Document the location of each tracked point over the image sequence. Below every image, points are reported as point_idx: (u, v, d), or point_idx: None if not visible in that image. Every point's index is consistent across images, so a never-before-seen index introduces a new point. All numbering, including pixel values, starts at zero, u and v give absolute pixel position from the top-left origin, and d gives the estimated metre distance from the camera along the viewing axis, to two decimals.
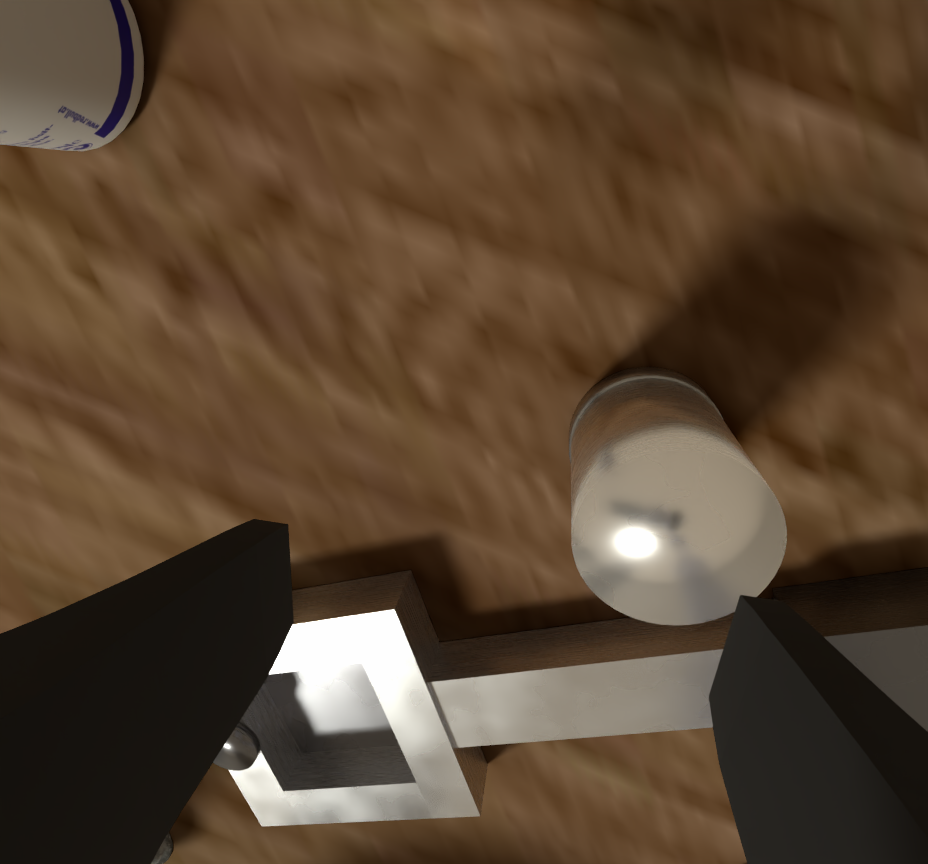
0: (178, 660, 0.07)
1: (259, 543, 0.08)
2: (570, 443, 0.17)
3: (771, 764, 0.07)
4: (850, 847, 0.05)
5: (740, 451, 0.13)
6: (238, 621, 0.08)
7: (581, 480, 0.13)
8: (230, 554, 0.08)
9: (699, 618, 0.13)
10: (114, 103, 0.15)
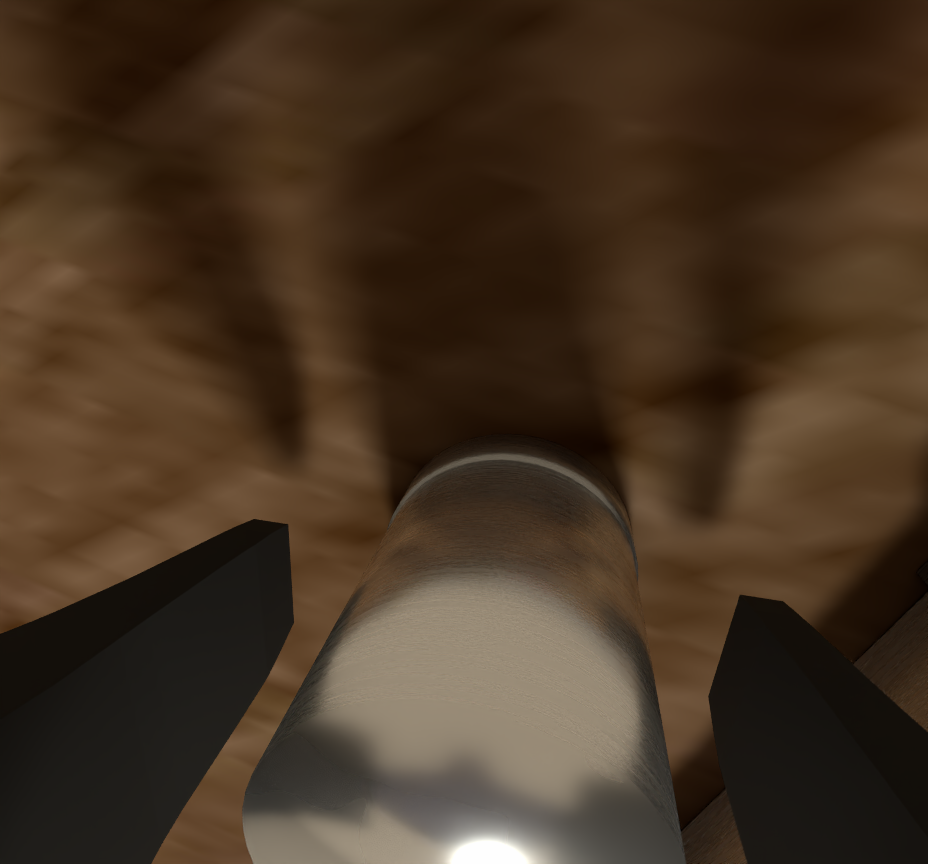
0: (178, 660, 0.07)
1: (259, 543, 0.08)
2: None
3: (771, 764, 0.07)
4: (850, 847, 0.05)
5: (431, 615, 0.06)
6: (238, 621, 0.08)
7: None
8: (230, 554, 0.08)
9: None
10: None
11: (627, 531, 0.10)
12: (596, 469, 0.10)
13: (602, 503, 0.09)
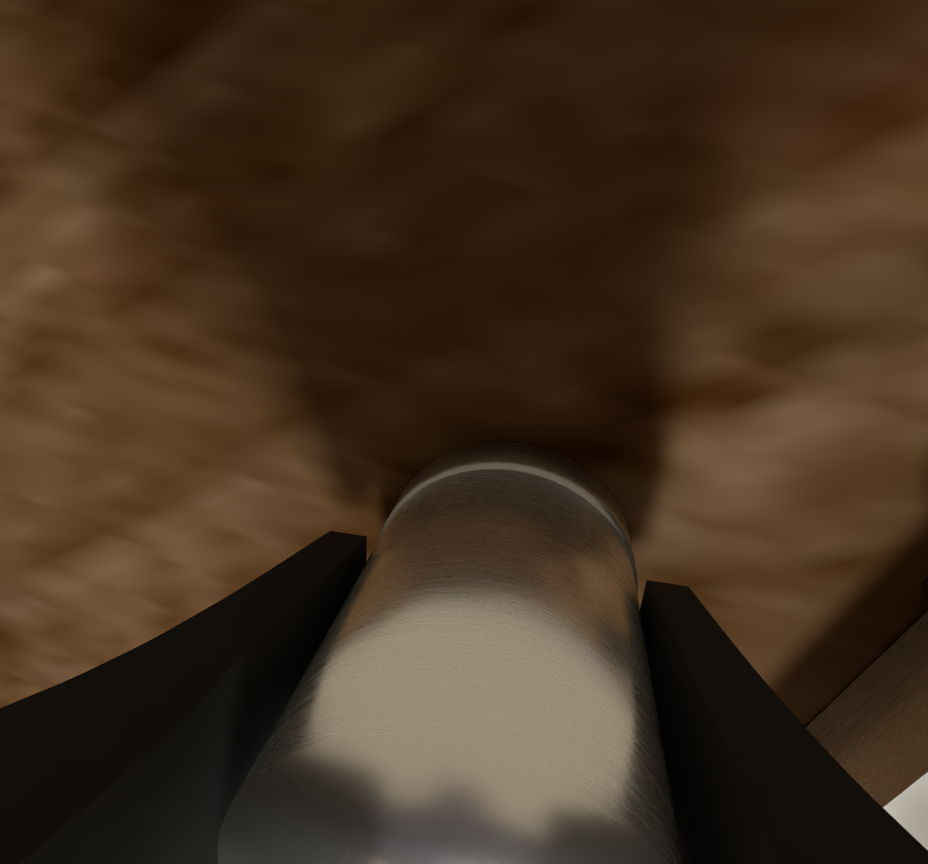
0: (280, 680, 0.07)
1: (345, 557, 0.08)
2: None
3: None
4: (703, 817, 0.06)
5: (419, 639, 0.06)
6: None
7: None
8: (321, 569, 0.08)
9: None
10: None
11: (626, 543, 0.09)
12: (594, 478, 0.10)
13: (600, 514, 0.09)
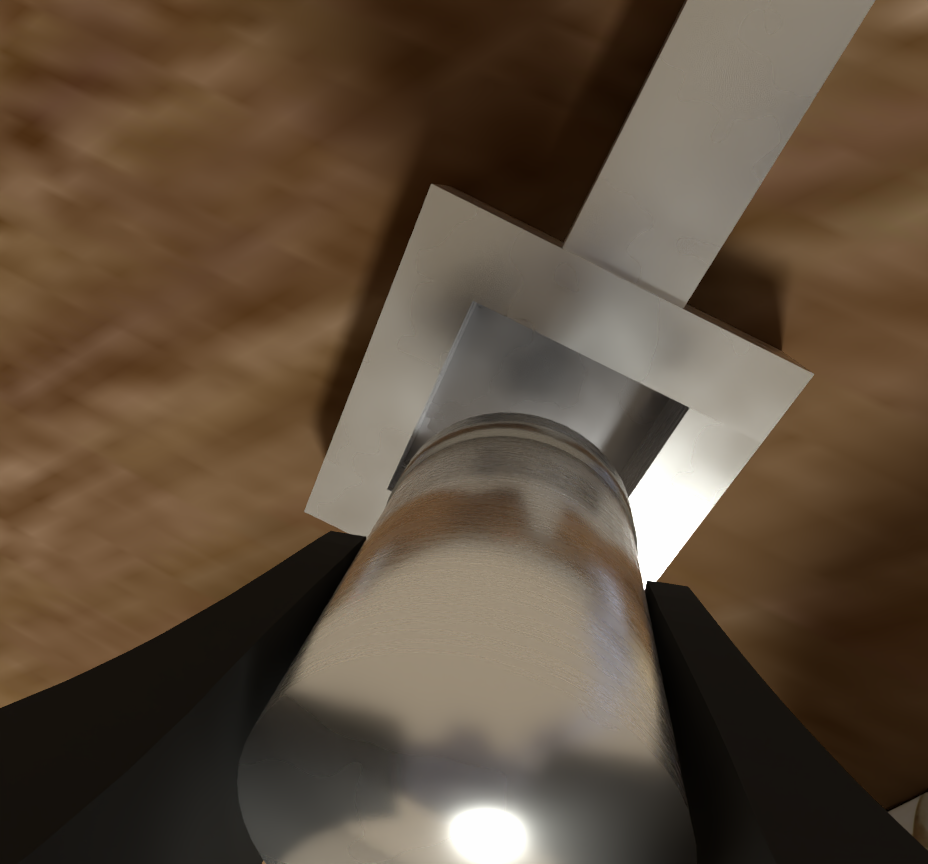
0: (280, 680, 0.07)
1: (345, 557, 0.08)
2: None
3: None
4: (703, 817, 0.06)
5: (422, 577, 0.06)
6: None
7: None
8: (321, 569, 0.08)
9: None
10: None
11: (625, 503, 0.09)
12: (592, 444, 0.10)
13: (598, 475, 0.09)
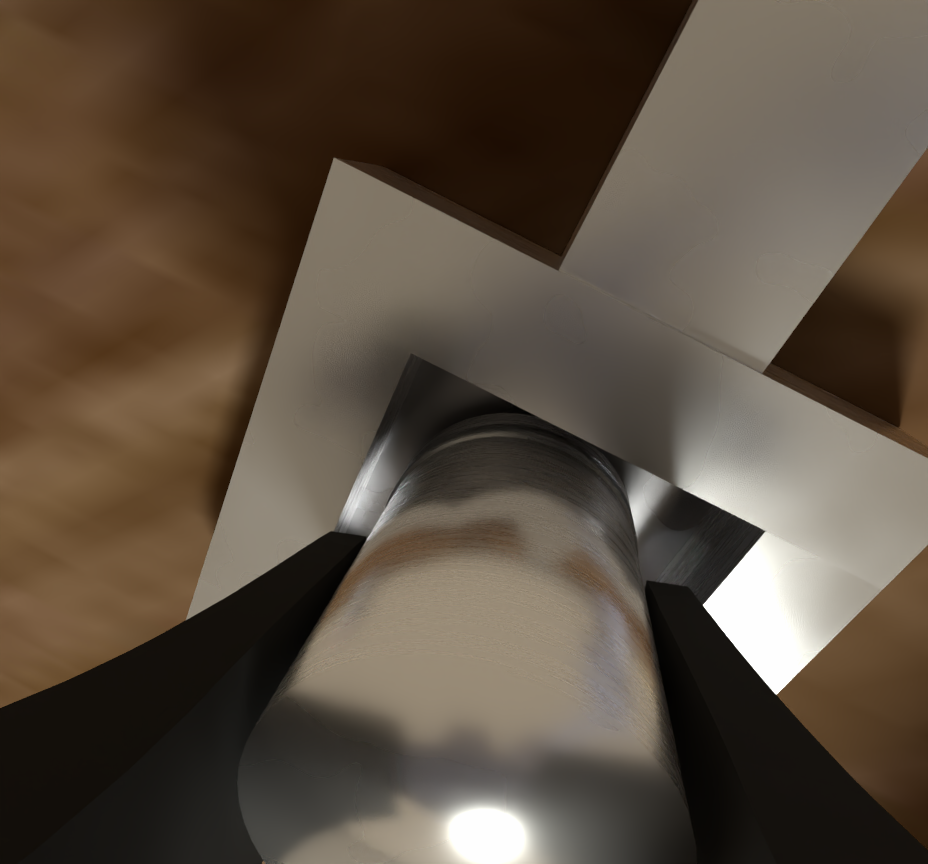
0: (280, 680, 0.07)
1: (345, 557, 0.08)
2: None
3: None
4: (704, 817, 0.06)
5: (423, 578, 0.06)
6: None
7: None
8: (321, 569, 0.08)
9: None
10: None
11: (625, 504, 0.09)
12: (592, 445, 0.10)
13: (598, 476, 0.09)
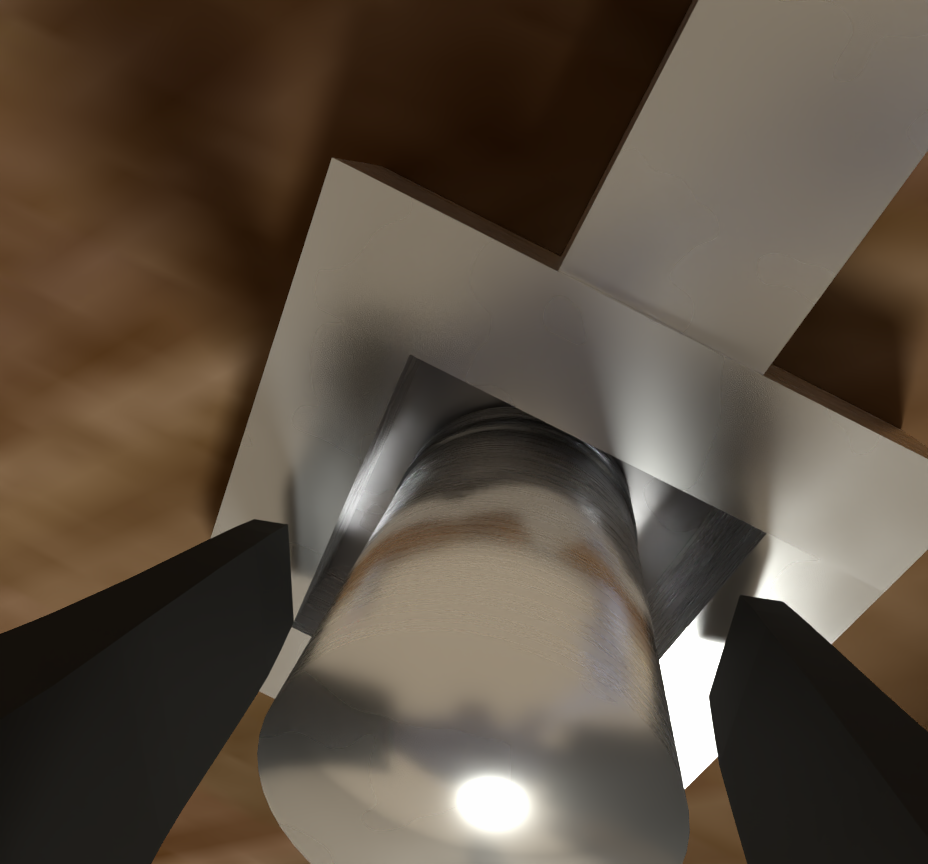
0: (178, 660, 0.07)
1: (259, 543, 0.08)
2: None
3: (772, 764, 0.07)
4: (850, 847, 0.05)
5: (431, 562, 0.06)
6: (238, 621, 0.08)
7: None
8: (230, 554, 0.08)
9: None
10: None
11: (625, 495, 0.10)
12: None
13: (599, 467, 0.09)
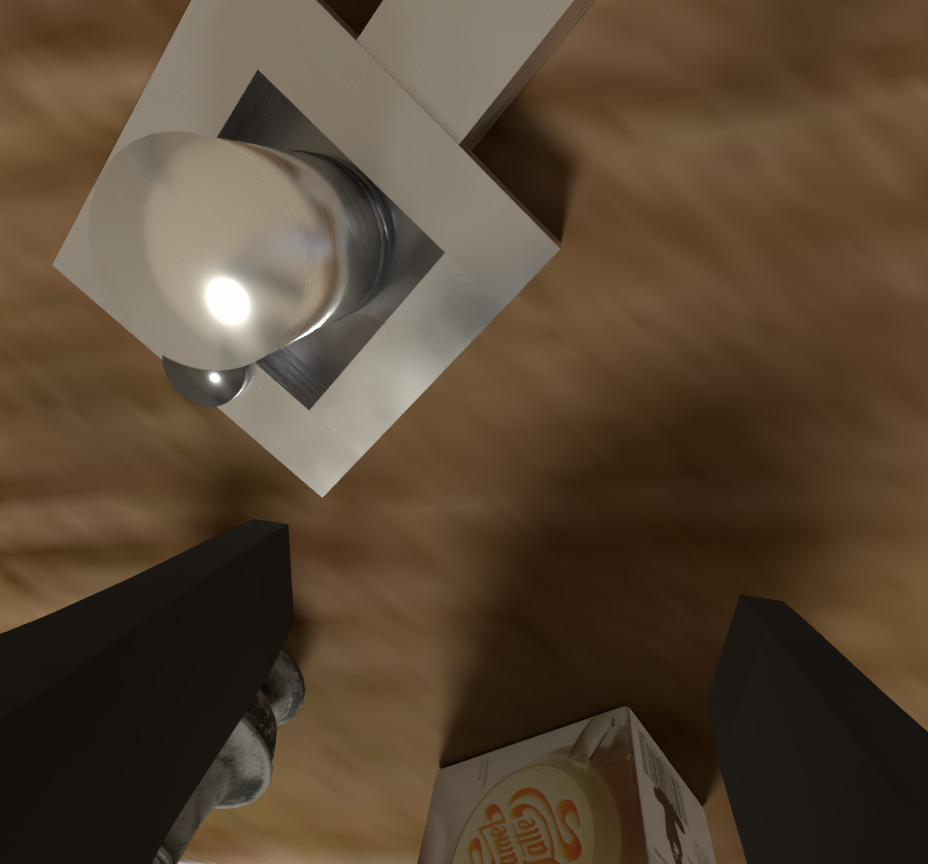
0: (178, 660, 0.07)
1: (259, 543, 0.08)
2: None
3: (771, 764, 0.07)
4: (850, 847, 0.05)
5: None
6: (238, 621, 0.08)
7: None
8: (230, 554, 0.08)
9: (283, 323, 0.11)
10: None
11: (380, 224, 0.15)
12: (376, 192, 0.16)
13: (365, 196, 0.15)
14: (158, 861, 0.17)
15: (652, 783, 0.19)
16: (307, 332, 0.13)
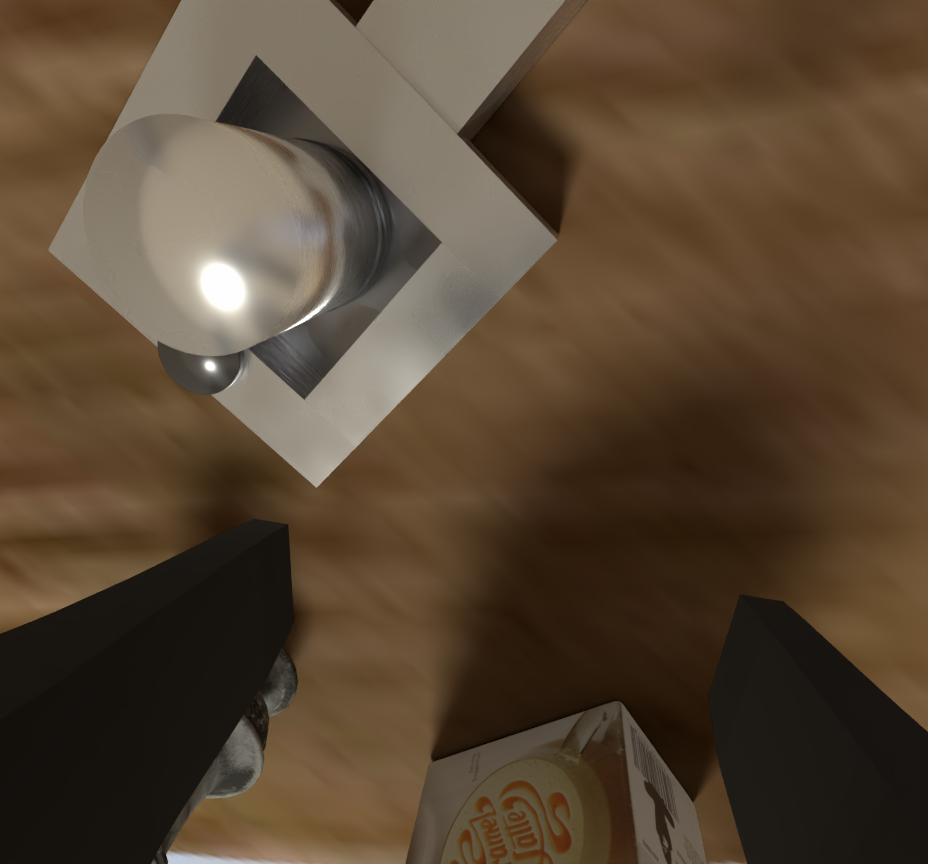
0: (178, 660, 0.07)
1: (259, 543, 0.08)
2: None
3: (772, 765, 0.07)
4: (850, 847, 0.05)
5: None
6: (238, 621, 0.08)
7: None
8: (230, 554, 0.08)
9: (278, 309, 0.11)
10: None
11: (377, 213, 0.15)
12: (374, 181, 0.16)
13: (363, 185, 0.15)
14: None
15: (642, 778, 0.19)
16: (302, 320, 0.13)
